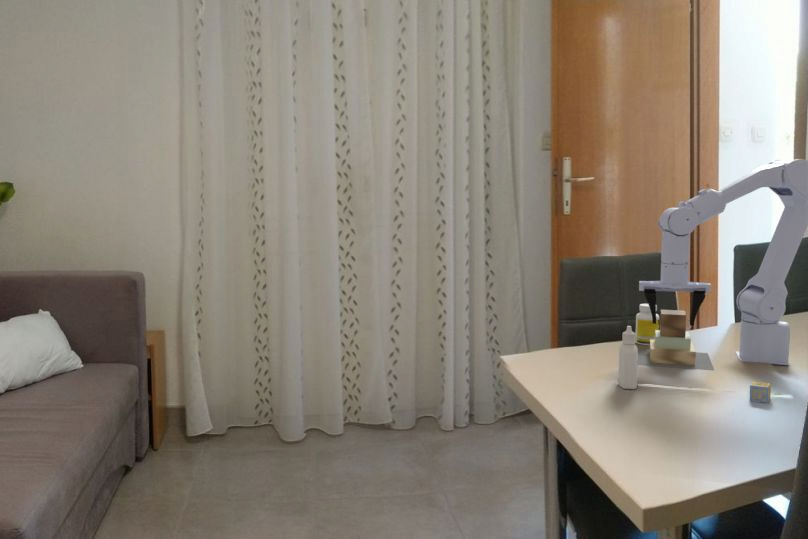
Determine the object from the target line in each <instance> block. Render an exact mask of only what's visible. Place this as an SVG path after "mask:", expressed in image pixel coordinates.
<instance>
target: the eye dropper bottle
mask: <svg viewBox="0 0 808 539" xmlns="http://www.w3.org/2000/svg"><path fill="white" fill-rule="evenodd" d="M621 337H622V340H621V341H622V344H620V346H619V350H618V379H617V380H618V386H619V387H620V388H621V389H624V390H636V389H637V388H638V371H639V370H638V369H639V368H638V366H639V365H638V349H639V348H638V346H637V345H636V342H635V337H636V334H635V332H634V331H633V330H632V326H631V325H627V326H626V330H625V331H623V332H622V336H621Z"/></svg>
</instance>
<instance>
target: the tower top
mask: <svg viewBox="0 0 808 539" xmlns="http://www.w3.org/2000/svg"><path fill="white" fill-rule="evenodd" d="M691 342H692V338H691V335H690V333H689V331H686V333H685V338H681V337H663V336H660V329H659V330H655V347H656V348H660V349H676V350H690V347H691Z"/></svg>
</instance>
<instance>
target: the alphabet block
mask: <svg viewBox="0 0 808 539" xmlns="http://www.w3.org/2000/svg"><path fill="white" fill-rule="evenodd" d="M771 385H772V383H769V382H762V381H761V382H760V381H752V382H751V383H750V385H749V401H750V402H755V403H756V402H757V403H764V404H768V403H769V401H771V396H772V395H771V393H772V392H771V391H772V386H771Z"/></svg>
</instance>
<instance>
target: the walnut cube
mask: <svg viewBox="0 0 808 539" xmlns="http://www.w3.org/2000/svg"><path fill="white" fill-rule="evenodd" d="M659 314H660V315H659V330H660V336H663V337H681V338H685V333H686V332H687V331H686V328H687V313H686V311H685V310H677V309H675V310H674V309H660V313H659Z"/></svg>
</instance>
